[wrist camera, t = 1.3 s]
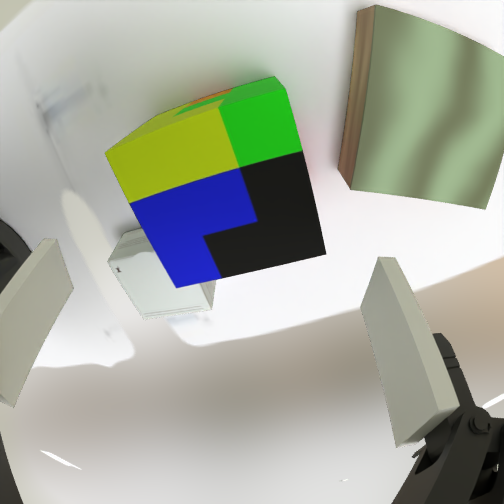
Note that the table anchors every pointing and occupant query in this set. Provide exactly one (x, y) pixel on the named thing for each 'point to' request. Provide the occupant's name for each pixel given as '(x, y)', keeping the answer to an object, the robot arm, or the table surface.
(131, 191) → the puzzle toy
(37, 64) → the table surface
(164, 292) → the small box
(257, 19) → the table surface
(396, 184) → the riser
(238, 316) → the table surface
